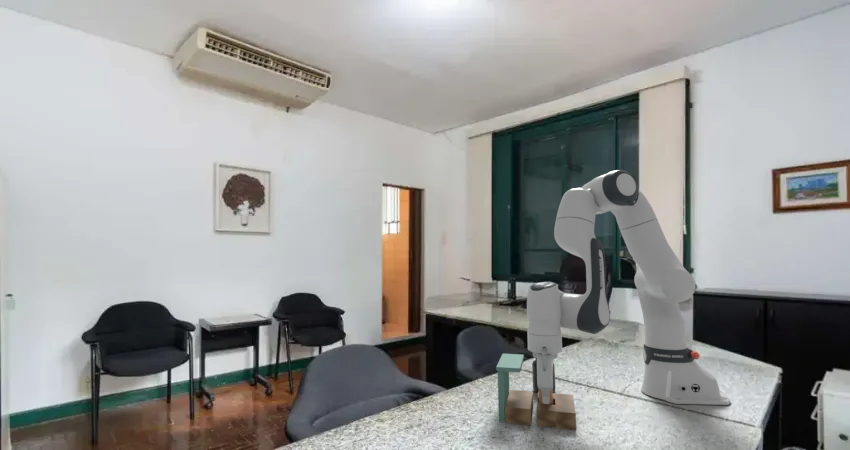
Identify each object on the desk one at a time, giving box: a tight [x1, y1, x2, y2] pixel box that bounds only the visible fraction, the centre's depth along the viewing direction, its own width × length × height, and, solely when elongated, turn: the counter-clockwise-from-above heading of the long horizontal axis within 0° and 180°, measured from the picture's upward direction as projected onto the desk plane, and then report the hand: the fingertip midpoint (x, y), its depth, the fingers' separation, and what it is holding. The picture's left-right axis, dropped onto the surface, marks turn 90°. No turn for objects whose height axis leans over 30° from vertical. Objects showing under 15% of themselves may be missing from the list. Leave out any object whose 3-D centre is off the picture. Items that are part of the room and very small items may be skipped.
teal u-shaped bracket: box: [495, 353, 525, 423], centre depth 115 cm, size 6×15×14 cm, turn 164°
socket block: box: [505, 389, 577, 431], centre depth 113 cm, size 17×14×4 cm
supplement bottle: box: [531, 358, 556, 394], centre depth 133 cm, size 7×7×12 cm
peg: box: [539, 389, 553, 405], centre depth 113 cm, size 4×4×10 cm
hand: (546, 396), depth 113 cm, fingers open, 8 cm apart
